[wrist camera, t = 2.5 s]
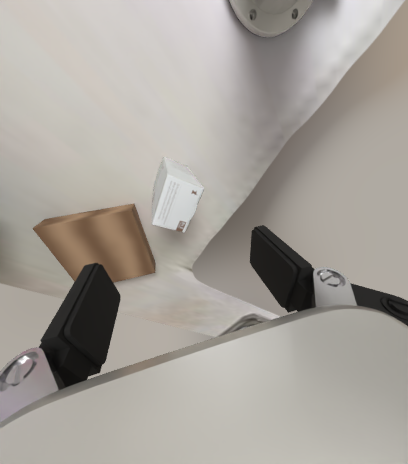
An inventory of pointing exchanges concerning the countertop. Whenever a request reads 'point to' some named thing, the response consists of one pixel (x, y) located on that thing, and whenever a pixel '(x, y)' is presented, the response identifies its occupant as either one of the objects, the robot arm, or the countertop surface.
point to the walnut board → (100, 242)
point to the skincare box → (175, 196)
